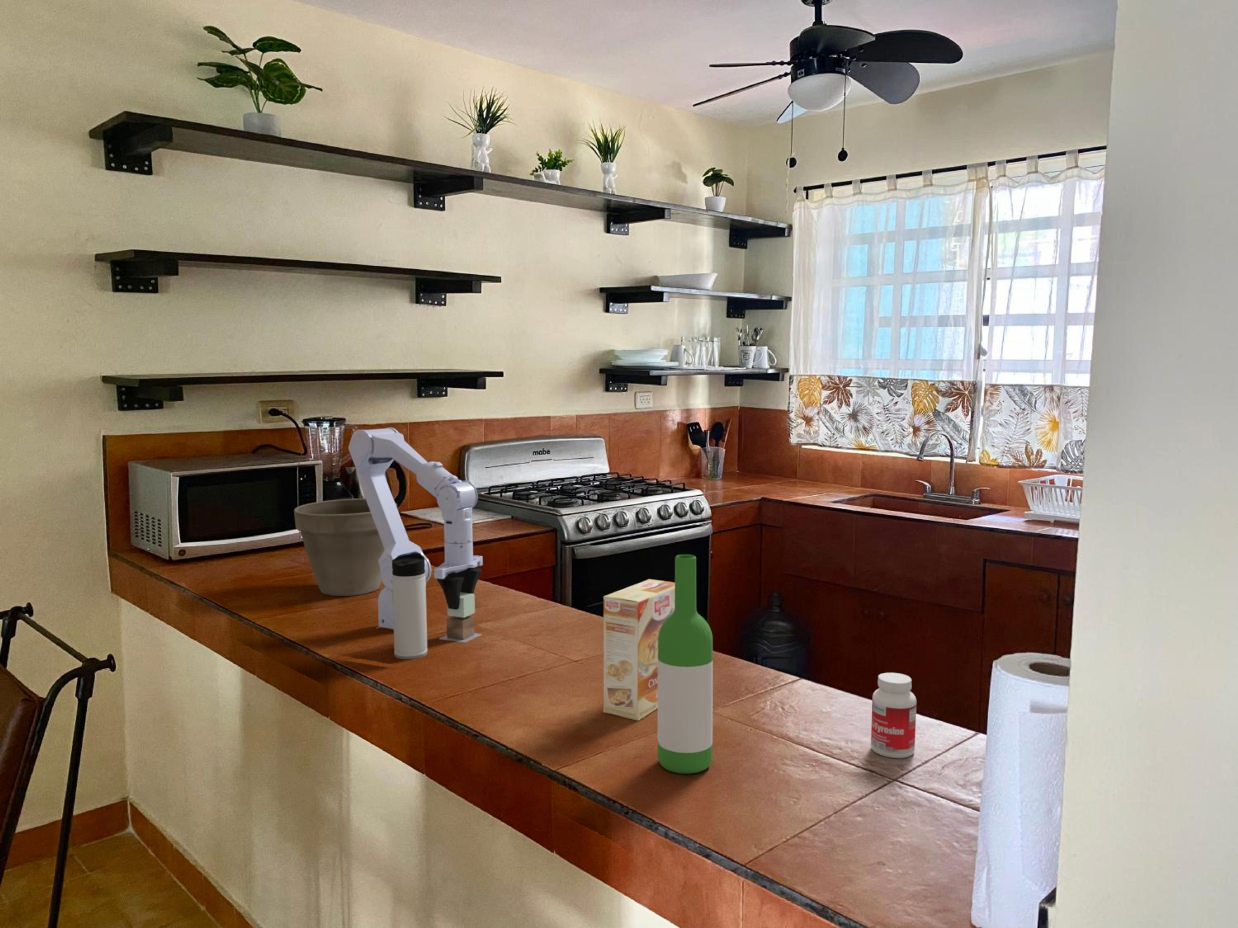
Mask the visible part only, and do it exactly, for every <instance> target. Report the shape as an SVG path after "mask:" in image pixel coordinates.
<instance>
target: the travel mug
mask: <svg viewBox="0 0 1238 928" xmlns="http://www.w3.org/2000/svg"><path fill="white" fill-rule="evenodd" d="M424 568H425V558H424V556H422V555H421V553H412V554H411V555H403V556H399V557H396V558H394V559H393V560H392V569H393V571H392V577H393V578H392V590H393V622H394V629H393V649H394V652H393V653H394V657H395V658H396V659H400V660H414V659H420V658H422V657H423V658H424V657H425V656H427V654H428V626H427V625H428V624H427V592H426V591H427V590H426V589H427V587H426V586H427V581H425V569H424Z"/></svg>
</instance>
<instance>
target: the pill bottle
mask: <svg viewBox="0 0 1238 928" xmlns="http://www.w3.org/2000/svg"><path fill="white" fill-rule="evenodd" d="M877 686H878V688H877V689H876V690H875V691H874V692H873V693H872V702H871V725H870V726H871V730H870V731H871V735H870V746H871V749H872V751H874V753H876V754H878V755H880V756H883V757H886V758H892V759H904V758H905V759H906V758H909V757H911V756H912V755H913V754H914V753H915V749H916V724H917V722H916V719H917V698H916V696H915V694H914V693H913V692H912V691H911V690H912V678H911V677H910V676H909V675H907V674H903V673H899V672H898V673H897V672H884V673H880V674H878V676H877Z"/></svg>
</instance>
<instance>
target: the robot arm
mask: <svg viewBox="0 0 1238 928" xmlns="http://www.w3.org/2000/svg"><path fill="white" fill-rule="evenodd" d="M348 451H349V454H350V456H351V457H350V458H351V459H352V461H353V464H354V466H355V472H356V476H357V480H358V482H359V485H360V487H361V490H362V493H363V495H364V499H366V501H367V504H368V506H369V509H370V512H371V514H372V517H373V520H374V522H375V525H376V528H377V530H378V533H379V535H380V538H381V541H382V543H383V546H384V549H385V550H384V552H383V554H382V555H381V557H380V558H379V560H378V562H379V565H380V569H381V579H382V580H381V583H383V586H384V588H382V589H381V591H380V592H379V594H378V599H377V612H378V613H377V614H378V616H377V617H378V626H377V627H376V629H378V628H385V629H391V630H394V622H393V590H392V578H393V577H392V571H393V569H392V560H393V559H394V558H396V557H399V556H403V555H411V554H412V553H421V555H422V556H424V558H425V568H424V569H425V581H426V582H428V581H429V579H431V575H432V565H431V563H430V560H429V558H427V556H426V555H425V554H424V552H423V550H422V548H421V546H420V545H418V544H416V543H414V542H412V541H410V539H409V536H408V534H407V531H406V528H405V526H404V524H403V520H402V519H401V518H402V517H401V516H400V513H399V510H398V506H397V507H396V505H395V503H396V502H395V499H394V497H393V495H392V492H391V490H390V486H389V484H388V482H387V478H386V476H385V475H386V471H387V470H388V468H390V466H391V464H392V463H393V462H394V461H396V462H397V463H399V464H400V465H402V466H403V467H405V468H406V469H407V470H409V471H411V472H412V473H413V474H415V475H416V482H417V483H418V485H420V486H421V487H422V488H424V490H426V492H427V491H428V493H430V495H432V496H434V497H435V499H436V503H437V505H438V507H439V509H440V511H441V518H442V520H443V533H444V535H443V536H444V537H443V538H444V539H443V540H444V562H442V563H441V564H440V565H438V567H436V568H434V569H433V576H434V577H433V578H434V579H436V581H437V582H438V584H439V585H440V588H441V589H442V591H443V594H444V597H445V600H446V604H447V605H448V608H449V609H455V610H457V609H459V604H460V592H462V593H470V594H475V589H476V586H477V582H478V580H479V578H480V576H481V575H482V568H477V567H481V566H483V565H484V563H483V562H484V561H483V560H484V559H483V556H482V555H475V554H474V544H473V543H474V542H473V540H474V539H473V534H474V533H473V508H474V507H475V506H476V505H477V503H478V500H479V499H478V498H479V494H478V490H477V487H476V486H475V485H474V484H473V483H472V481H470V480H461V479H459V477H457V476H456V474H455V475H453V474H452V473H450V472H449V471H448V470H446V468H444V467H443V463H441V462H440V461H429V462H428V461H427V460H426V459H425V458H424V457H423V456H422V455H420V454H419V453H418V452H417V451H416V450H415V449H414V448H413V447H412V446H411V445H410V444H409V443H407V442H406V440H405V438H404V434H402V433H400V432H399V431H398V430H397V429H396V428H394V427H386V428H376V429H375V428H374V429H373V428H372V429H357V430H355V431H354V432H353V433H352V436H351V438H350V441H349V445H348Z"/></svg>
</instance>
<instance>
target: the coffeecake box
mask: <svg viewBox="0 0 1238 928" xmlns="http://www.w3.org/2000/svg"><path fill="white" fill-rule="evenodd" d="M602 598H603V713H605V714H608V715H614V716H618V717H621V718H626V719H629V720H634V721H640V720H642V719H643V718H645V717H646V716H648V715H650V714H651V713H653V712H654V711H656V710H658V636H659V631H660V628H661V626H662V624H663V623H664V621H665V620H666V619H667V618H668V617H669V616H670V615H672V614H673V612H674V610H675V581H674V582H673V581H666V580H658V579H651V578H648V579H646V580H643V581H641V582H639V583H635V584H633V585H630V586H627V587H625V588H623V589H620V590H617V591H614V592H612V593H609V594H607V595H604V596H603V597H602Z"/></svg>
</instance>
